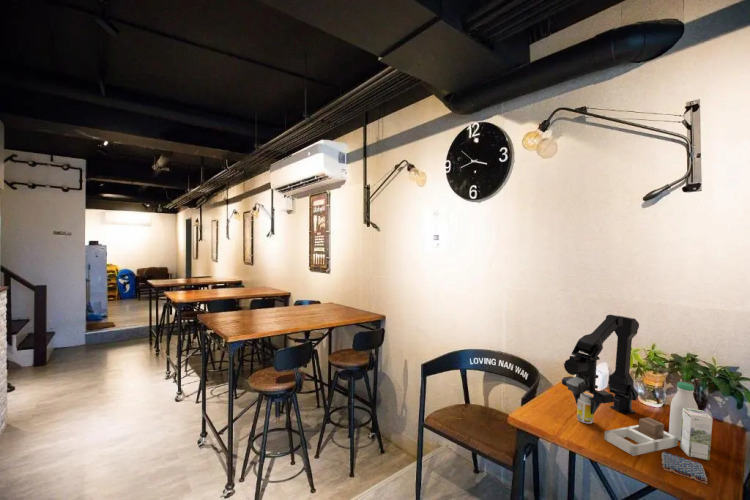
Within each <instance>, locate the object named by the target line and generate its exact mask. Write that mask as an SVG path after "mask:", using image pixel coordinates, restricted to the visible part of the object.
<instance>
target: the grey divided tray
mask: <svg viewBox="0 0 750 500" xmlns="http://www.w3.org/2000/svg"><path fill="white" fill-rule="evenodd" d="M626 438H628V439H630V440H633V441H634V442H635V443H633V442H632V441H629V440H628V439H626ZM603 439H604V440H605V441H606V442H608V443H610V444H612V445H613V446H615V447H617V448H619V449H620V450H622V451H624V452H626V453H628V454H629V455H630V456H632V457H635V456H639V455H643V454H649V453H653V452H657V451H658V452H659V451H662V450H667V449H671V448H674V447H675V448H676V447H678V446H679V445H678V443H679V440H678V437H676V436H674V435H671V434H669V432H668V431H665V430H664V431H663V439H658V440H654V439H652V438H650V437H648V436H646V435H644V434H642V433H640V432H639V424H636V425H631V426H625V427H621V428H614V429H609V430H605V431H604V438H603Z"/></svg>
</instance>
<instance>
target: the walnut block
mask: <svg viewBox="0 0 750 500" xmlns="http://www.w3.org/2000/svg"><path fill="white" fill-rule="evenodd" d="M638 425H639V432H640V433H642V434H644V435H646V436H648V437H650V438H652V439H654V440H658V439H663V431H665V430H664V427H665V424H664V423H662V422H660V421H658V420H656V419H653V418H652V417H642V418H639V419H638Z"/></svg>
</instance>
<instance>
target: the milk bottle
mask: <svg viewBox="0 0 750 500" xmlns="http://www.w3.org/2000/svg"><path fill="white" fill-rule="evenodd" d="M676 386H677V387H676V389H677V391H676V393H675V395H674V396H673V398H672V399H671V403H670V409H669V410H670V411H669V424H668V433H669V434H671V435H674V436H676V437H678V442H680V440H681V426H682V412H683V408H689V409H696V410H699V407H698V403H697V402H696V400H695V397H694V393H695V385H694V384H692V383H688V382H684V381H678V382H677V385H676Z"/></svg>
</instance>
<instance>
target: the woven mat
mask: <svg viewBox="0 0 750 500" xmlns="http://www.w3.org/2000/svg"><path fill="white" fill-rule="evenodd" d="M660 455H661V459H662V461H661V464H662V465H661V467H662V468H663V470H665V471H666V472H670V473H673V474H676V475H679V476H683V477H685V478H688V479H692V480H694V481H697V482H700V483H703V484H707V485H708V477H707V476H706V475H707V474H706V472H705V469H704V467H703V464H702V463H701V462H699V463H698V461H697V460H696V461H694V460H692V459H690V458H688V459H689V460H688V459H687V458H685V457H684V456H682V457H681V456H678V455H677V454H675V455H674V454H672V453H671V452H670V453H668V452H666V451H665V450H663V452H661V454H660ZM698 477H699V478H698Z"/></svg>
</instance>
